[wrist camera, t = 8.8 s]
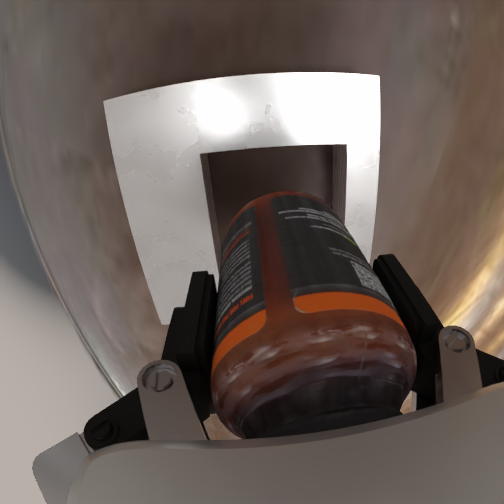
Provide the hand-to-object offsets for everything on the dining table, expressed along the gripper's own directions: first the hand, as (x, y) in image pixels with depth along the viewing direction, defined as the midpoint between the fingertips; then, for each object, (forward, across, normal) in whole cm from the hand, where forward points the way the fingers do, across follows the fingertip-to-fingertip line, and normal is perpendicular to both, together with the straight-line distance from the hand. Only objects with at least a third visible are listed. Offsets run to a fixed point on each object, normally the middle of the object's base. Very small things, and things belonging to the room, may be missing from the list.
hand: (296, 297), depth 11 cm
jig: (+10, +1, 0) cm, 10 cm away
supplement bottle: (+4, 0, 0) cm, 4 cm away
